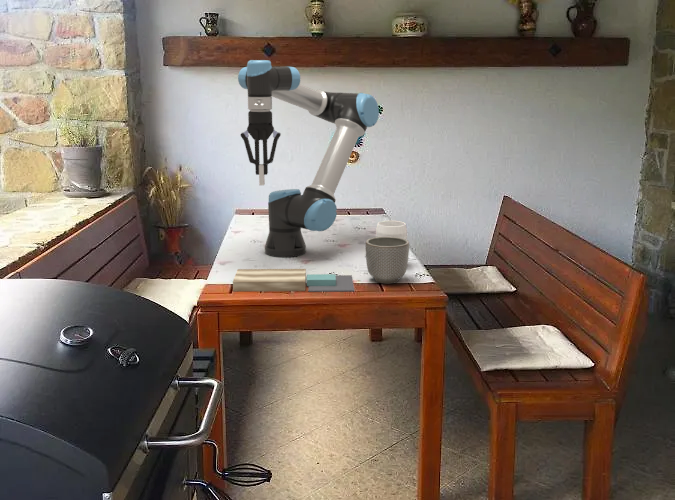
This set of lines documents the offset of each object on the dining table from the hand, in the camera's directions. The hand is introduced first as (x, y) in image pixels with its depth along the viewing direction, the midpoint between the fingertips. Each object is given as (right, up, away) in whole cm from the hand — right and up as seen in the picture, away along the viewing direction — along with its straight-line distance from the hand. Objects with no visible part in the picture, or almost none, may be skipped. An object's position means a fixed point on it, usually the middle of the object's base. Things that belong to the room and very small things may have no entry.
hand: (262, 184), depth 232 cm
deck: (+3, -32, -6) cm, 33 cm away
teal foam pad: (+19, -32, -6) cm, 38 cm away
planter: (+40, -31, -2) cm, 51 cm away
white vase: (+43, -27, +14) cm, 53 cm away
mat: (+22, -32, -6) cm, 39 cm away
